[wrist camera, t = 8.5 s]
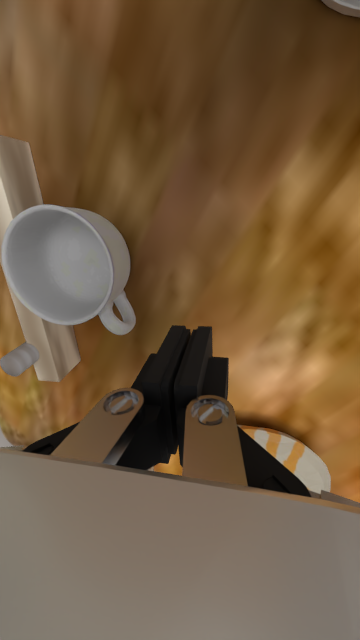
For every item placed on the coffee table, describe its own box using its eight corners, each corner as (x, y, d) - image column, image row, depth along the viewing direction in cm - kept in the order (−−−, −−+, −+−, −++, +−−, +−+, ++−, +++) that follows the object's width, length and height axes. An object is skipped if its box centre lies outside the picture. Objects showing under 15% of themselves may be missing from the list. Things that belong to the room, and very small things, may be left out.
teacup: (36, 237, 32) (-24, 249, 24) (103, 181, 27) (55, 175, 20) (106, 333, 35) (72, 367, 28) (174, 295, 31) (155, 324, 24)
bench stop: (28, 142, 27) (-46, 122, 20) (80, 360, 38) (43, 397, 31) (-7, 147, 28) (-90, 129, 21) (54, 358, 39) (11, 394, 32)
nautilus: (308, 515, 42) (212, 493, 46) (336, 415, 32) (211, 398, 36) (318, 580, 35) (204, 549, 39) (357, 478, 25) (200, 450, 29)
